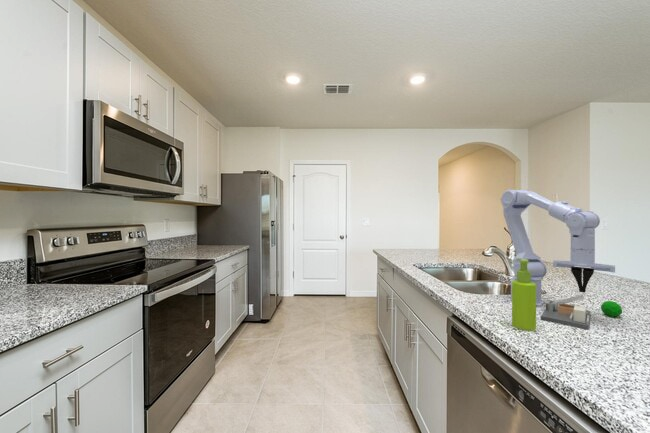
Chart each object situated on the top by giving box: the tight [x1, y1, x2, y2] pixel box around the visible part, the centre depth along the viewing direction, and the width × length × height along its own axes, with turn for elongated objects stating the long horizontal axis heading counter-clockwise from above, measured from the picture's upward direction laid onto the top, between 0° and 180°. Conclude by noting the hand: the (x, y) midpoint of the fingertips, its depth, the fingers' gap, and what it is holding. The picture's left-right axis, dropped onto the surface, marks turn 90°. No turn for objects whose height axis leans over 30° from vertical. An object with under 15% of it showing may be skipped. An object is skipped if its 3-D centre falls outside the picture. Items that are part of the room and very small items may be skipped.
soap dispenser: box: [511, 259, 537, 332], centre depth 84 cm, size 6×7×20 cm
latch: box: [574, 304, 587, 323], centre depth 86 cm, size 3×5×4 cm, turn 135°
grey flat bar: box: [551, 294, 585, 306], centre depth 92 cm, size 9×3×1 cm, turn 45°
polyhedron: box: [600, 300, 623, 318], centre depth 93 cm, size 5×5×5 cm
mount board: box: [540, 299, 591, 330], centre depth 92 cm, size 11×18×4 cm, turn 135°
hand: (582, 291), depth 89 cm, fingers closed
